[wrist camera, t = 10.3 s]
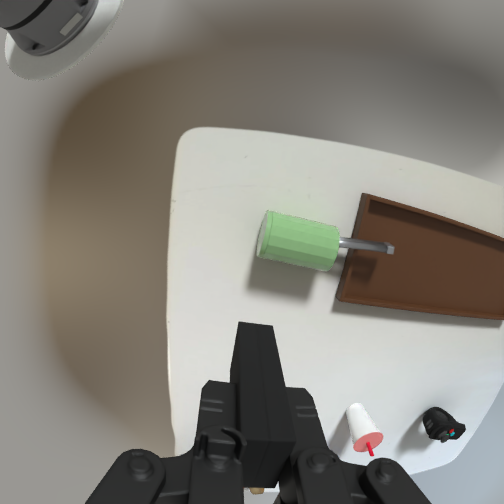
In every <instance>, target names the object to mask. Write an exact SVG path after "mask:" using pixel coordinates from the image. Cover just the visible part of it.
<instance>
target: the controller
mask: <svg viewBox="0 0 504 504" xmlns="http://www.w3.org/2000/svg"><path fill="white" fill-rule="evenodd" d="M423 424H424V426H425V429H426V432H427V434H428V435H429V438H430V439H435V440H441V443H444V442H446V441H447V440H448V439H454V440H456V439H458V438H459V437H460V436H461V435H462V434H463V433H464V432H465V430H466V428H465V424H461V423H458V422H457V421H456V420H455V419H454V418H453V417H452V416H451V415H450V414H449V413H447V412H446V411H445V410H443V409H441V408H439V407H432V408H430V409H429V410H428V411H427V412H426V414H425V415H424V417H423Z"/></svg>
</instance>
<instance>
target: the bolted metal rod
mask: <svg viewBox="0 0 504 504" xmlns="http://www.w3.org/2000/svg"><path fill="white" fill-rule="evenodd" d="M339 247H343V248H351V249H359V250H367V251H375V252H383V253H387V254H393V253H394V248H395V247H394V246H393V245H391V244H390V243H388V242H377V241H369V240H361V239H353V238H345V237H340V242H339Z"/></svg>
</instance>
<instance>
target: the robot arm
mask: <svg viewBox="0 0 504 504" xmlns="http://www.w3.org/2000/svg"><path fill="white" fill-rule="evenodd" d="M98 1H99V0H0V27H2V28H4V29H6V30H7V31H8V33H9V34H10V36H11V37H12V38H13V40H14V41H15V43H16V44H17V46H18V47H19V48H20V49H21V50H23V51H24V52H26V53H28V54H30V55H33V56H44V55H48V54H51V53H53V52H55V51H57V50H59V49H61V48H62V47H64V46H65V45H67V44H68V43H69V42H71V41H72V40H73V39H74V38H75V37H76V36H77V35H78V34H79V33H80V32H81V31H82V30H83V29H84V28H85V26H86V25H87V24H88V22H89V21H90V19H91V18H92V16H93V14H94V12H95V10H96V8H97V5H98ZM315 408H316V407H315V404H314V400H313V397H312V396H311V395H310V394H309V393H308V391H307V390H306V389H305V388H292V387H285V382H284V377H283V372H282V368H281V363H280V358H279V353H278V349H277V344H276V339H275V334H274V330H273V326H271V325H262V324H254V323H246V322H239V323H238V328H237V334H236V340H235V345H234V351H233V357H232V362H231V368H230V383H227V382H219V381H212V380H209V381H208V382H207V383H206V384H205V385H204V387H203V388H202V392H201V400H200V407H199V415H198V423H197V431H196V437H195V441H194V446H193V447H192V448H191V450H189V451H188V452H187V453H185V454H183V455H180V456H176V457H168V458H159V456H158V455H156V454H154V453H152V452H151V451H147V450H143V449H131V450H129V451H126V452H123V453H122V454H121V455H120V456H119V457H118V458H117V459H116V461H115V462H114V463H113V465H112V466H111V468H110V469H109V470H108V472H107V473H106V475H105V476H104V477H103V479H102V480H101V482H100V483H99V484H98V486H97V487H96V489H95V490H94V491H93V493H92V494H91V496H90V497H89V498H88V500H87V501H86V503H85V504H244V491H243V487H248V488H275V487H276V485H277V483H278V482H279V489H280V492H279V494H278V496H277V498H276V500H275V501H274V503H273V504H431V503H430V501H429V500H428V499H427V498H426V496H425V495H424V494H423V492H422V491H421V490H420V489H419V488H418V486H417V485H416V484H415V483H414V481H413V480H412V479H411V478H410V476H409V475H408V474H407V473H406V471H405V470H404V469H403V468H402V466H401V465H399V464H398V463H397V462H396V461H394V460H391V459H388V458H378V459H374V460H373V461H371V462H370V463H369V464H368V465H367V466H363V465H357V464H351V463H347V462H343V461H341V460H340V459H339V457H338V456H337V454H335V453H334V452H333V451H332V450H330V449H328V446H327V443H326V440H325V437H324V433H323V430H322V427H321V423H320V420H319V417H318V413H317V410H316V409H315Z"/></svg>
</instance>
